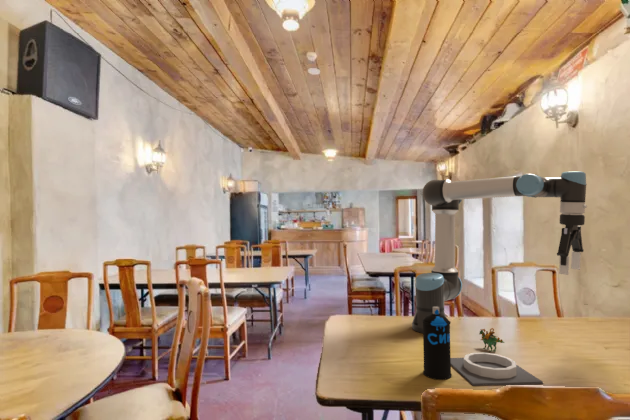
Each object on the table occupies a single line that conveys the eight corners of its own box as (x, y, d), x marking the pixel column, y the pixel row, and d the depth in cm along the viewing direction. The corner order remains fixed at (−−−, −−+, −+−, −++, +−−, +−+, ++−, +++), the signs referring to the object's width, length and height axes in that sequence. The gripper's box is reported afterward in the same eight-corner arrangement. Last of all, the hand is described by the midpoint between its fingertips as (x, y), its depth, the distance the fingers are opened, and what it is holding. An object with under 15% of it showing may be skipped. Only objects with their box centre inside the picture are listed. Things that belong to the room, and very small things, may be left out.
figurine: (483, 345, 139) (482, 323, 139) (508, 356, 127) (507, 331, 128) (476, 346, 138) (475, 323, 138) (501, 357, 126) (500, 332, 127)
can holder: (473, 385, 104) (472, 374, 104) (445, 359, 124) (444, 350, 124) (542, 383, 105) (542, 372, 105) (503, 358, 125) (503, 349, 125)
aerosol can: (419, 369, 116) (417, 304, 117) (444, 368, 117) (443, 303, 118) (429, 380, 108) (427, 310, 109) (456, 379, 109) (455, 309, 109)
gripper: (573, 216, 126) (571, 278, 127) (593, 213, 142) (591, 268, 143) (548, 214, 131) (546, 274, 132) (570, 212, 147) (568, 265, 149)
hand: (569, 271), depth 138 cm, fingers open, 13 cm apart
